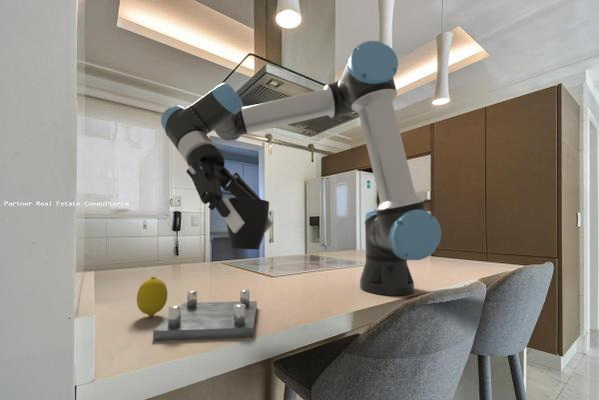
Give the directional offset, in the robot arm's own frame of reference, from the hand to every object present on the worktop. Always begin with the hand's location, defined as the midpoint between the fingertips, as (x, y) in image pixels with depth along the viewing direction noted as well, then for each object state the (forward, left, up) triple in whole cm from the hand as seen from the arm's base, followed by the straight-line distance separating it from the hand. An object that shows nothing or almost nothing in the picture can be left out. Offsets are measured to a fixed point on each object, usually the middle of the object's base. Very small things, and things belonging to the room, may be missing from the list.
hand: (255, 227), depth 55 cm
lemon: (+21, -5, -18) cm, 28 cm away
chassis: (+8, -1, -18) cm, 20 cm away
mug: (+3, -2, -4) cm, 5 cm away
